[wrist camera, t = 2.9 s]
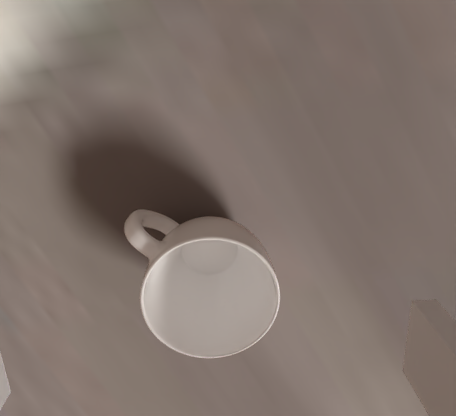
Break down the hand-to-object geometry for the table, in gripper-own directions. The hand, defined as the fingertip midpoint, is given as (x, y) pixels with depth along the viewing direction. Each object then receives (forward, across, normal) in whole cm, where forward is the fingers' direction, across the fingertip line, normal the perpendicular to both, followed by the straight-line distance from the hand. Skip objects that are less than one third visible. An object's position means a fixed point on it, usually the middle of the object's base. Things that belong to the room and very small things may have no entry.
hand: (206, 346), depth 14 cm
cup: (+16, -1, -4) cm, 17 cm away
